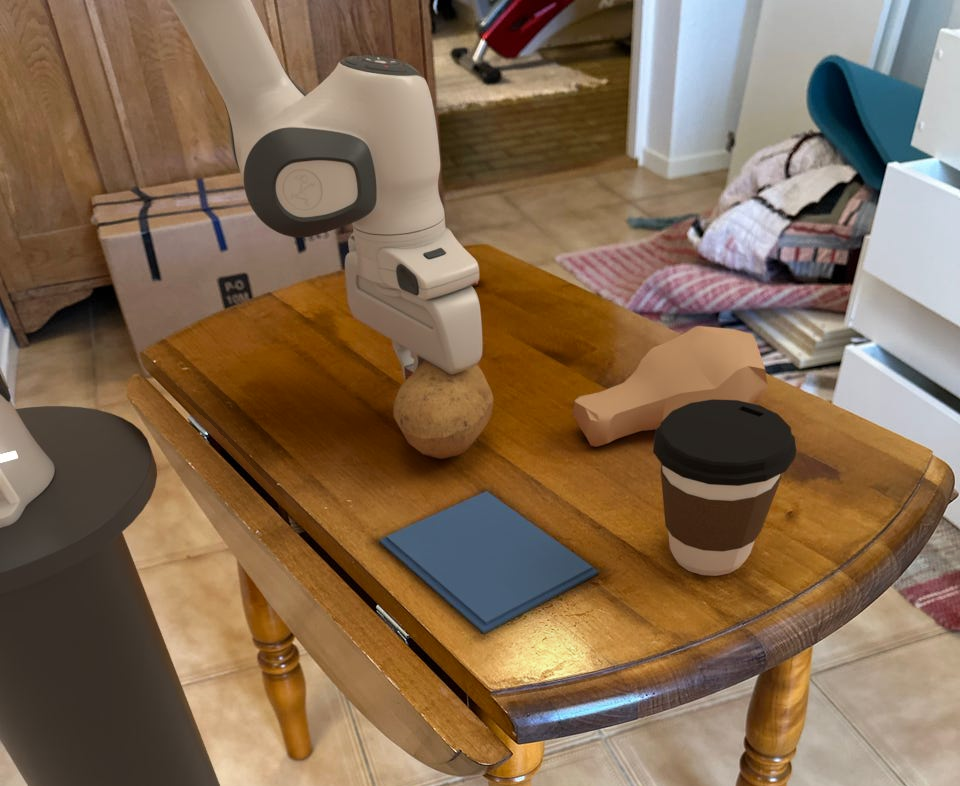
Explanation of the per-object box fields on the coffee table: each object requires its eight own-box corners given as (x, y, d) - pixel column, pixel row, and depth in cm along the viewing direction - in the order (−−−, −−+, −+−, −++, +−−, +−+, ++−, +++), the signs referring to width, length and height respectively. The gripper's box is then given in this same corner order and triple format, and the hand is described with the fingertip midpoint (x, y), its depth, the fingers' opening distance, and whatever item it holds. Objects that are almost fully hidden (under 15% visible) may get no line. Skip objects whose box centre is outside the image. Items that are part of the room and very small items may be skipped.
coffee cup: (691, 503, 85) (705, 382, 77) (799, 549, 79) (826, 423, 71) (618, 559, 80) (625, 435, 72) (728, 612, 74) (748, 484, 66)
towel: (483, 634, 74) (483, 628, 73) (379, 542, 83) (378, 537, 83) (598, 573, 78) (598, 568, 78) (486, 494, 88) (486, 488, 88)
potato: (384, 481, 91) (373, 407, 86) (414, 410, 101) (406, 340, 96) (481, 485, 89) (477, 410, 84) (502, 413, 100) (499, 342, 94)
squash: (783, 426, 95) (796, 353, 88) (604, 490, 93) (602, 421, 86) (730, 366, 101) (739, 294, 94) (561, 425, 99) (557, 355, 92)
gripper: (321, 232, 95) (343, 359, 104) (433, 288, 82) (446, 427, 92) (373, 217, 98) (390, 342, 107) (490, 269, 85) (497, 405, 94)
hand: (417, 382), depth 99 cm, fingers closed
